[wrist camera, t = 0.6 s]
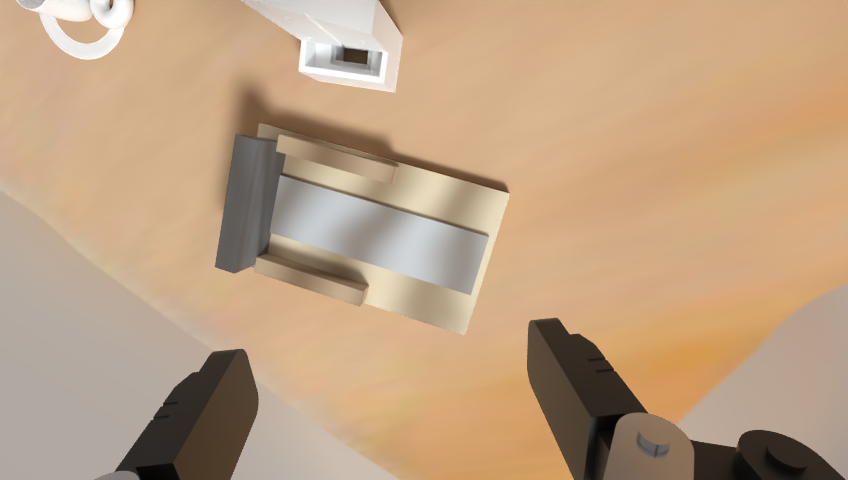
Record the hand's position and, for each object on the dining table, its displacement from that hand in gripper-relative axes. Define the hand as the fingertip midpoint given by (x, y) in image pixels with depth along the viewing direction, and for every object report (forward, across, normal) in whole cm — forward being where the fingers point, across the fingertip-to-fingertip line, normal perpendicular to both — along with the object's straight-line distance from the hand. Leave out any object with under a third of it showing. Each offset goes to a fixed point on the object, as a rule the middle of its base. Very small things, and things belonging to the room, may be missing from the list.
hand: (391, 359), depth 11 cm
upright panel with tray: (+22, +1, -9) cm, 24 cm away
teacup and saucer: (+28, +21, -12) cm, 37 cm away
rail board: (+19, +2, +3) cm, 20 cm away
